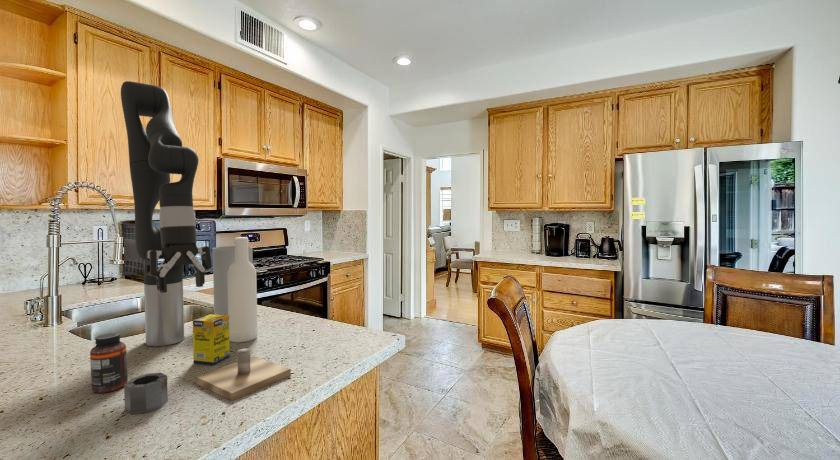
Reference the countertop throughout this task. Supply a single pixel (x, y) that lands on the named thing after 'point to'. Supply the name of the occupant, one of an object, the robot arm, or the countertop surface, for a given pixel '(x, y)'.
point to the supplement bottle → (108, 363)
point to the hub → (145, 393)
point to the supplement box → (211, 339)
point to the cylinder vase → (223, 275)
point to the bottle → (242, 295)
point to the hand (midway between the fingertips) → (182, 289)
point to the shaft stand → (242, 376)
